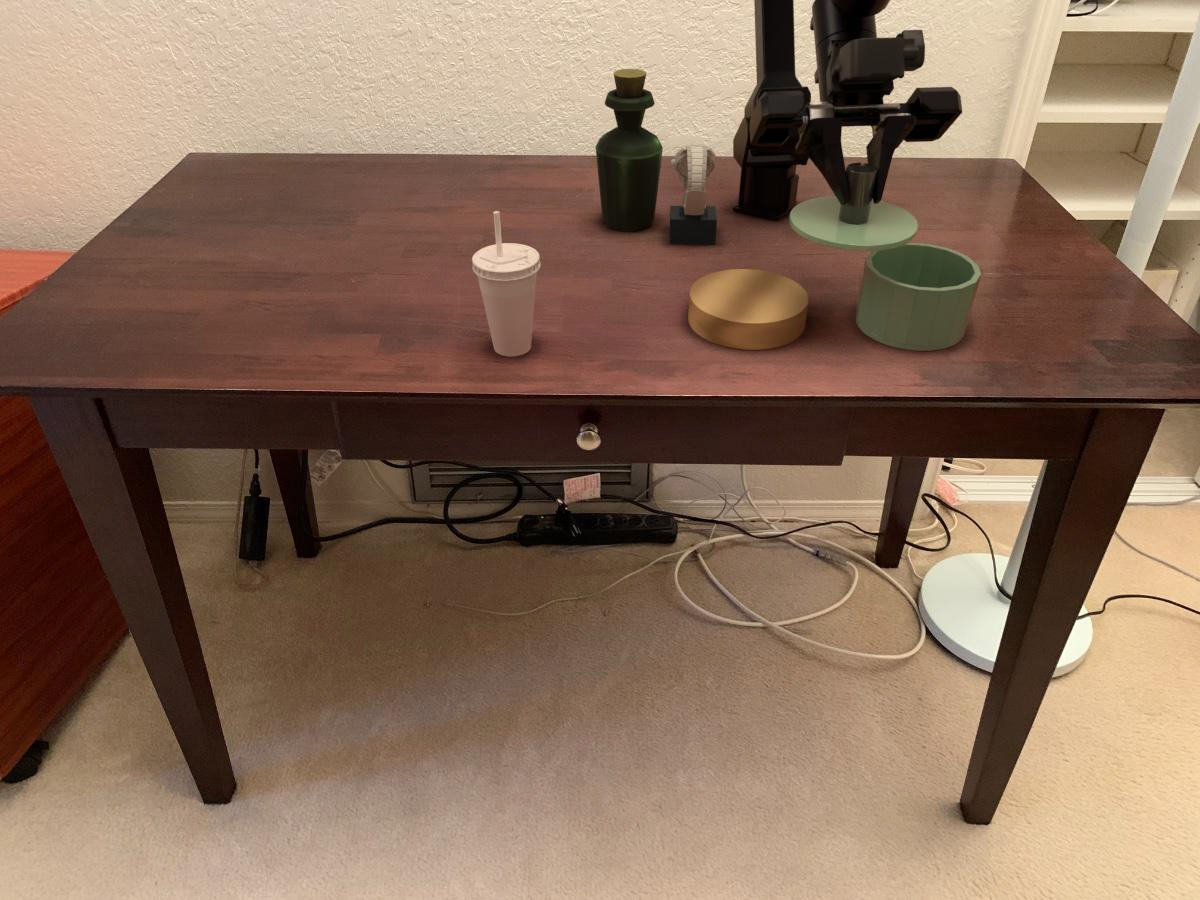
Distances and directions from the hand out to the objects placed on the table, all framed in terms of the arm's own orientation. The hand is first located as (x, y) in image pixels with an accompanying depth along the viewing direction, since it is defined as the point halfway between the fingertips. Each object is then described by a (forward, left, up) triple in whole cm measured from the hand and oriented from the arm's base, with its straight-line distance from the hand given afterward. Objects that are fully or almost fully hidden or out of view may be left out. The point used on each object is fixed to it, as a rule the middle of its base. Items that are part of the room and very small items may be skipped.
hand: (861, 202), depth 85 cm
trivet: (-9, -3, -13) cm, 16 cm away
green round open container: (+6, +5, -13) cm, 15 cm away
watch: (-24, +13, -14) cm, 30 cm away
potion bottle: (-33, +13, -14) cm, 38 cm away
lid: (-1, +1, -3) cm, 3 cm away
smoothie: (-27, -20, -14) cm, 36 cm away
